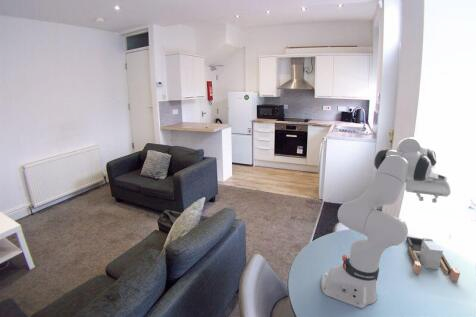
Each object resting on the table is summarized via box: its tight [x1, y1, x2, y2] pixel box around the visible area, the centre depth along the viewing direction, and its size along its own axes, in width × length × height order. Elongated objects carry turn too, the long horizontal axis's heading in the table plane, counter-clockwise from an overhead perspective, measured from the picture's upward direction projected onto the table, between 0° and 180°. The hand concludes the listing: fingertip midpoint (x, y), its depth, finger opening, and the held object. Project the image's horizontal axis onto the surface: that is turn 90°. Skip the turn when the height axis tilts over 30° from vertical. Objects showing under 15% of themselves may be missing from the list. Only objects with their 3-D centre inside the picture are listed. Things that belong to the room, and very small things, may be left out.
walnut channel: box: [407, 245, 453, 276], centre depth 137 cm, size 15×14×3 cm
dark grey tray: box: [405, 235, 423, 252], centre depth 148 cm, size 12×9×3 cm
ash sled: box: [412, 237, 448, 275], centre depth 136 cm, size 12×14×9 cm
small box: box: [418, 241, 444, 270], centre depth 135 cm, size 8×6×10 cm
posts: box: [412, 261, 461, 283], centre depth 127 cm, size 17×3×5 cm, turn 71°
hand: (427, 201), depth 145 cm, fingers open, 5 cm apart
